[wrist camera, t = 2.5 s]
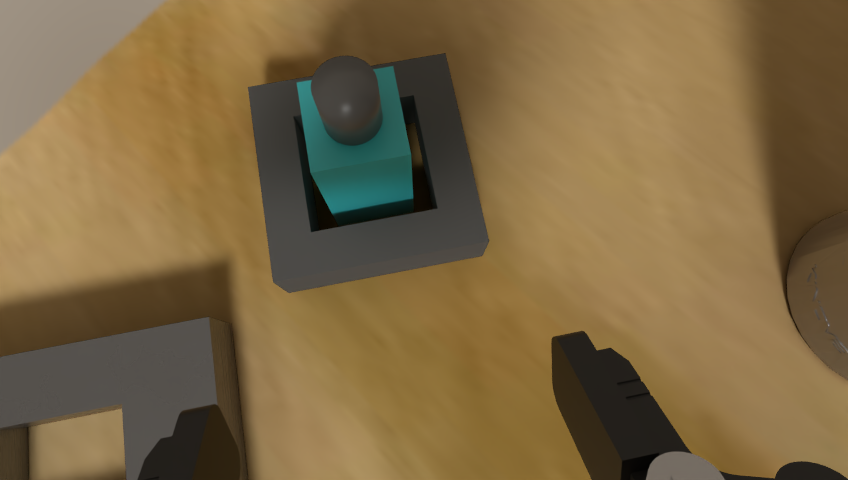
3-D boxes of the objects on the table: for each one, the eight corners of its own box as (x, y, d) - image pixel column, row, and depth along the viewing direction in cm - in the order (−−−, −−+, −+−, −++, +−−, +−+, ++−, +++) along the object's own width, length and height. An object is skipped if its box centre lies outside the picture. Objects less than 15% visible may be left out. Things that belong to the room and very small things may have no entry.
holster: (443, 84, 31) (445, 53, 28) (482, 255, 29) (489, 241, 26) (264, 115, 30) (247, 87, 28) (288, 292, 28) (273, 282, 25)
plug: (400, 143, 30) (389, 28, 20) (414, 211, 29) (409, 126, 19) (327, 155, 30) (281, 46, 20) (338, 225, 29) (296, 145, 19)
